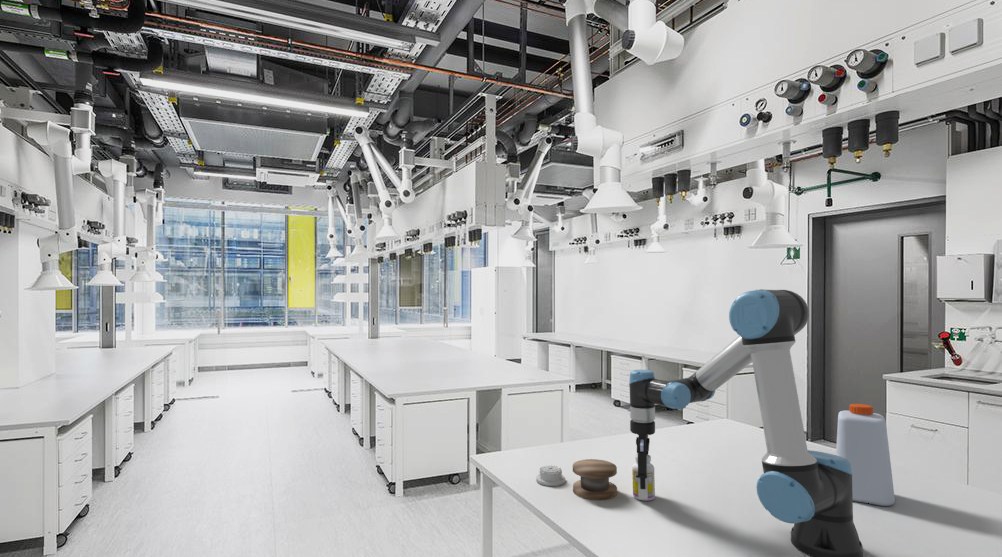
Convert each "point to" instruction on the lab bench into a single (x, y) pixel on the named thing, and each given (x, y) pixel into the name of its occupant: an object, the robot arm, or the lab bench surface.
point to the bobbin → (594, 479)
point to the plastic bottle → (866, 454)
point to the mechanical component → (550, 476)
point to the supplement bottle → (649, 479)
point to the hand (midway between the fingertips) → (643, 494)
